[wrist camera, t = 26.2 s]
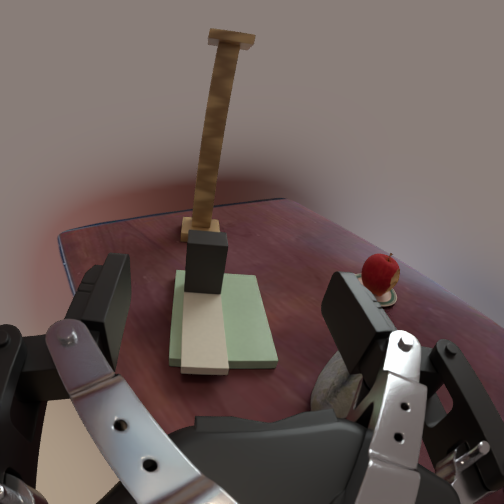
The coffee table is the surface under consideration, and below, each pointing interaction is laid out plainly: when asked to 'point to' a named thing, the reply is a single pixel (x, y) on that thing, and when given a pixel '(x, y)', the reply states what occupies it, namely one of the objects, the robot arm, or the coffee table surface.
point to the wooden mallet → (204, 305)
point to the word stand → (215, 127)
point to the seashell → (335, 388)
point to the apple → (380, 278)
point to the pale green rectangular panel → (232, 323)
